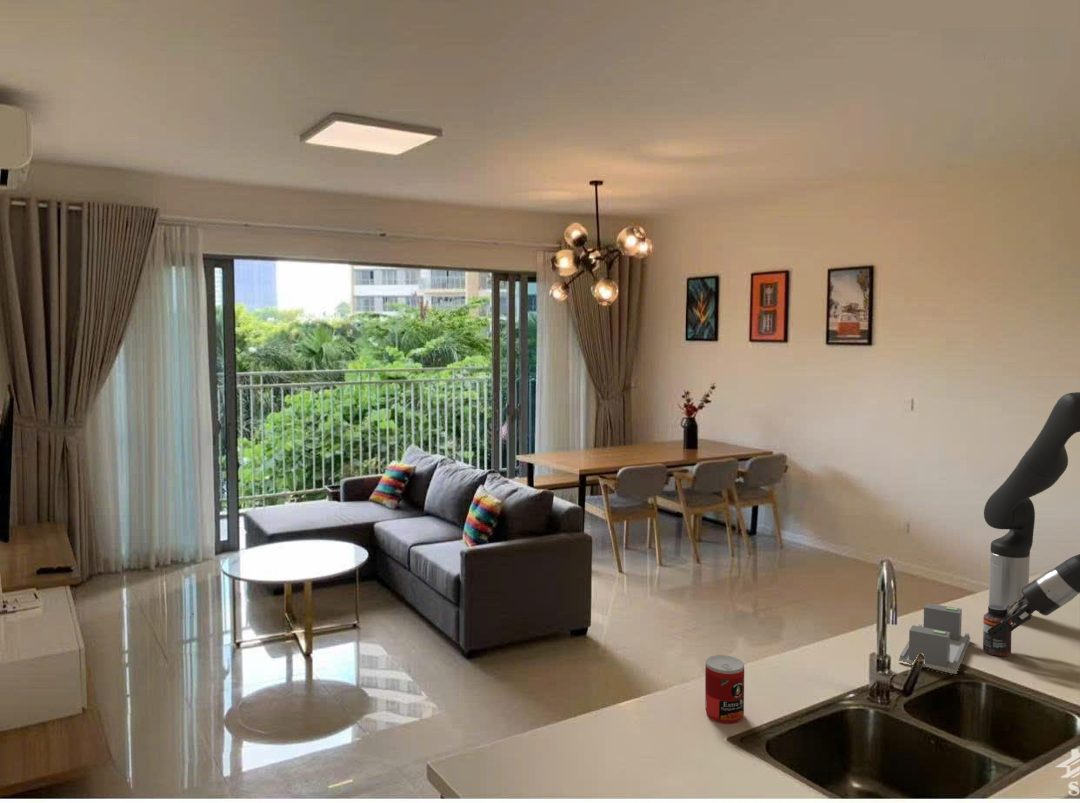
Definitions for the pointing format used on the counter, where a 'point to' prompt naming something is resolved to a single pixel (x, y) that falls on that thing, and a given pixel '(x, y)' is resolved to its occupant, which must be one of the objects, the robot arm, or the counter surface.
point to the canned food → (724, 688)
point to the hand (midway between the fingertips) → (992, 629)
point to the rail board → (938, 639)
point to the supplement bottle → (1003, 641)
